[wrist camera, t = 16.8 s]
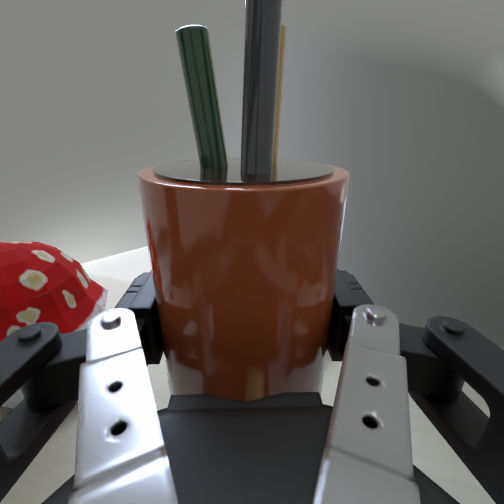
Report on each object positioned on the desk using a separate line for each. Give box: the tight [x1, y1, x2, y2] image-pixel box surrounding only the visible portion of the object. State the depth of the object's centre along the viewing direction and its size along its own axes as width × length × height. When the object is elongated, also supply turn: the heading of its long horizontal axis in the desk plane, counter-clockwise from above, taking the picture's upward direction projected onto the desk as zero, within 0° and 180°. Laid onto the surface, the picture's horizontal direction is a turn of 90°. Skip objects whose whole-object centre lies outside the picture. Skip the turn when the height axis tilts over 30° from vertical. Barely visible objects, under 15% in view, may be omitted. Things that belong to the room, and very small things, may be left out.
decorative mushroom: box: [0, 241, 108, 409], centre depth 26 cm, size 14×14×15 cm
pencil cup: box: [137, 0, 349, 402], centre depth 10 cm, size 6×6×16 cm
